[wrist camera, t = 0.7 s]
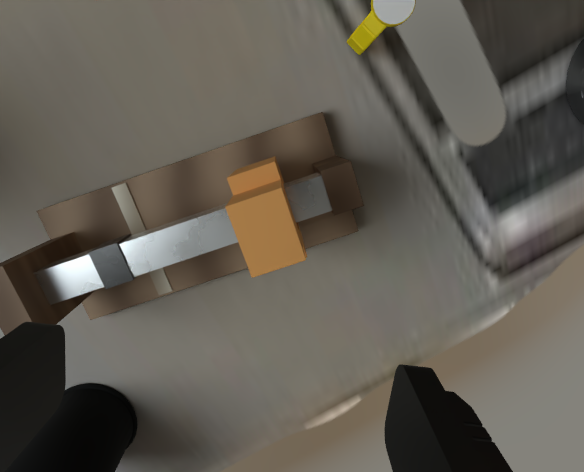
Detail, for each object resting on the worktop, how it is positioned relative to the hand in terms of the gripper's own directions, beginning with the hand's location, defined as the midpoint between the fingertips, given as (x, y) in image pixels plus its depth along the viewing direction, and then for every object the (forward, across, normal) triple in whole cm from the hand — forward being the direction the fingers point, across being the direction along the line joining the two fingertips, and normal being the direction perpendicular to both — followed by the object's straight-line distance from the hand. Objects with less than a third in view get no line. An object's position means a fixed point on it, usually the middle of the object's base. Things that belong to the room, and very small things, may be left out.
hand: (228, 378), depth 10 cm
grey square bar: (+20, +6, +2) cm, 21 cm away
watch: (+27, -6, -15) cm, 31 cm away
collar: (+22, 0, 0) cm, 22 cm away
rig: (+26, +6, +2) cm, 27 cm away
